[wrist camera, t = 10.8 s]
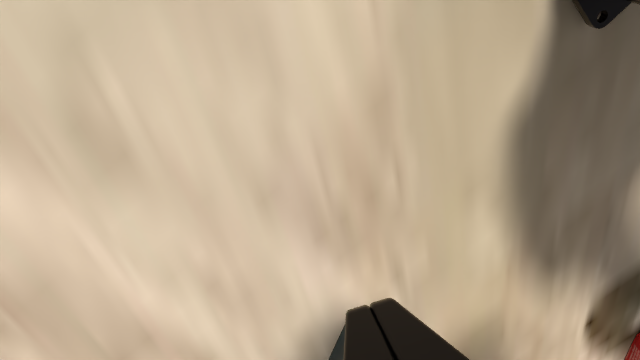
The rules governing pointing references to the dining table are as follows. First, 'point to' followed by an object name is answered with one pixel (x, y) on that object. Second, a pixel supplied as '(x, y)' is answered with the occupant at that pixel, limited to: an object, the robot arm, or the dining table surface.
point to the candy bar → (634, 349)
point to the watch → (339, 348)
